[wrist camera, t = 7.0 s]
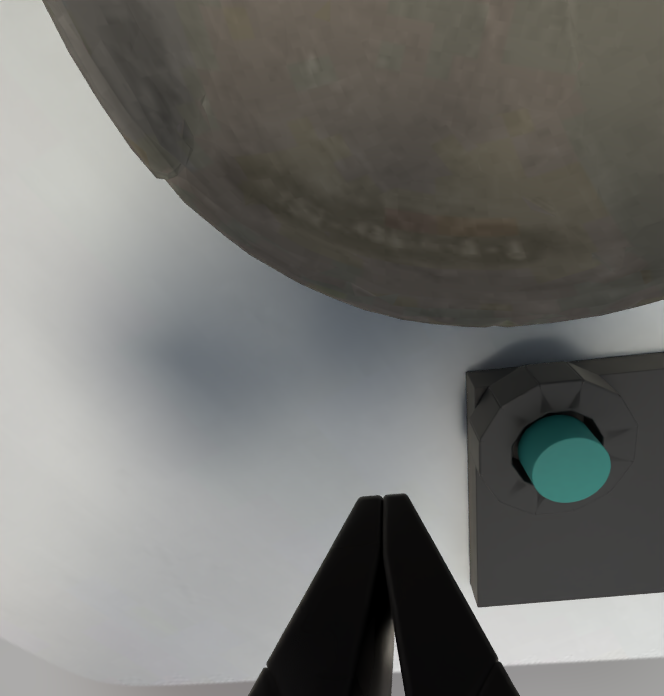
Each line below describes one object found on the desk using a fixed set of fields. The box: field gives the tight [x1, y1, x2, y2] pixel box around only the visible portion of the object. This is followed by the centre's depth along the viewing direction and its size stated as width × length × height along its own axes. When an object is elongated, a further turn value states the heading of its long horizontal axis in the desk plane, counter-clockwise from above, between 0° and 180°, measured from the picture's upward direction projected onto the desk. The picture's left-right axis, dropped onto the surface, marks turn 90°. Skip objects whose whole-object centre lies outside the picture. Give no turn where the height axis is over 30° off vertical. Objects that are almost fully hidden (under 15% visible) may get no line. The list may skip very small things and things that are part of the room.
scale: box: [466, 352, 664, 607], centre depth 21 cm, size 14×12×3 cm
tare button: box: [518, 415, 611, 503], centre depth 19 cm, size 3×3×2 cm
